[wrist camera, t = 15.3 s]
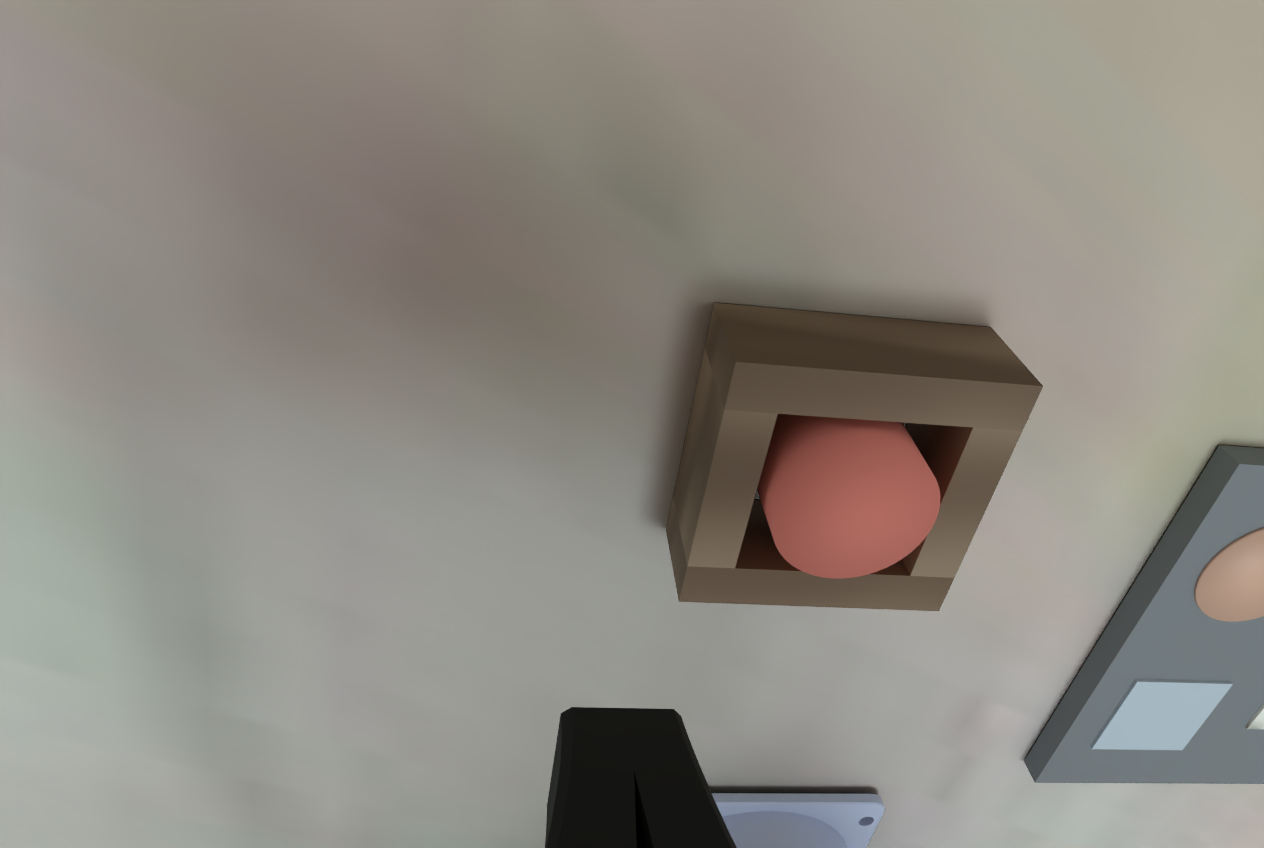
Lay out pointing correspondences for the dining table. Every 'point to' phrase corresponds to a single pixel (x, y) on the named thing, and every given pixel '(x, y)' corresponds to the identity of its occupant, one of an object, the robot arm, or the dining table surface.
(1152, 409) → the dining table surface
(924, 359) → the button box
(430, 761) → the dining table surface
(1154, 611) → the picture board
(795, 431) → the button
